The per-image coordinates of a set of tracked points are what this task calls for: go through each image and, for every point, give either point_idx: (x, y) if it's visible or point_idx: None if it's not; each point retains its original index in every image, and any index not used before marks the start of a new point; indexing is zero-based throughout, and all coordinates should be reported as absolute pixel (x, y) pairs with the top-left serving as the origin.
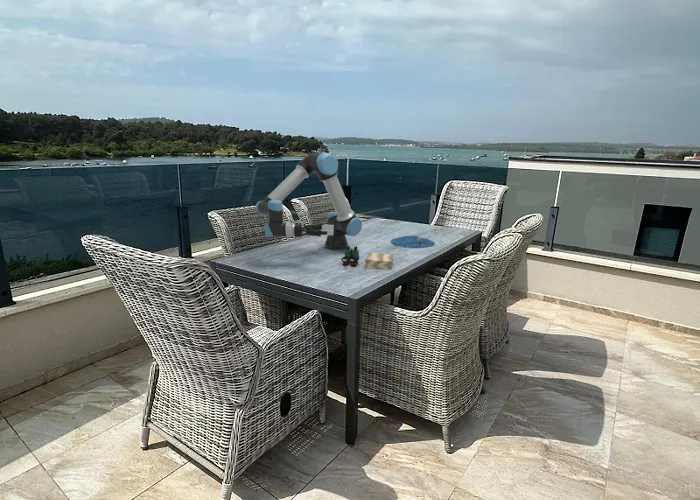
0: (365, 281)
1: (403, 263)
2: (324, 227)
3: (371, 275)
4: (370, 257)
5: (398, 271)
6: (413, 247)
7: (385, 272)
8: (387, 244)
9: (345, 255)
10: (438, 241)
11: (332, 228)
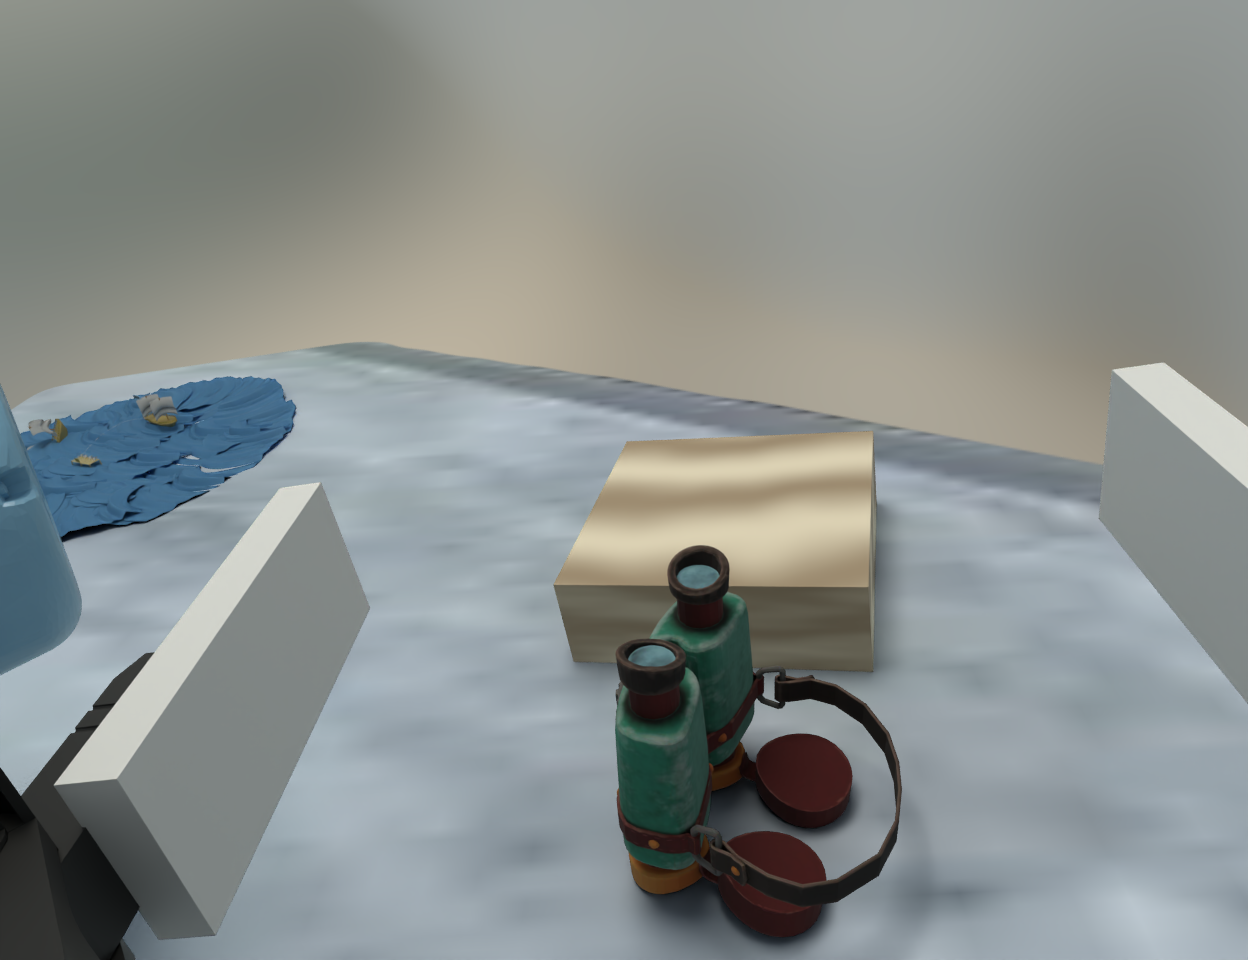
0: None
1: None
2: (223, 769)
3: (1145, 608)
4: (745, 559)
5: (915, 467)
6: (267, 441)
7: (980, 527)
8: None
9: (693, 807)
10: (191, 376)
11: (346, 594)
